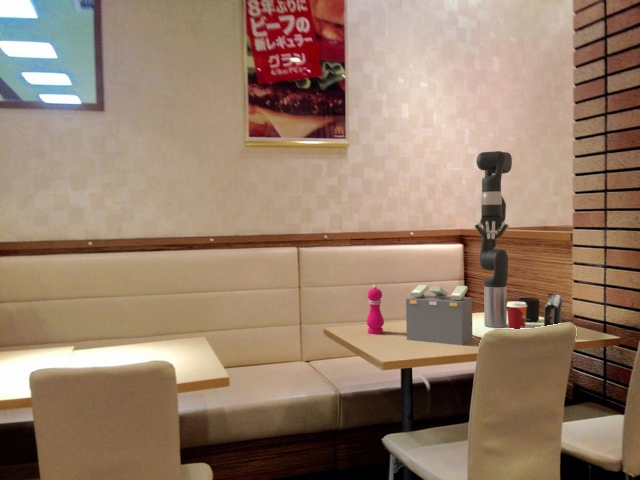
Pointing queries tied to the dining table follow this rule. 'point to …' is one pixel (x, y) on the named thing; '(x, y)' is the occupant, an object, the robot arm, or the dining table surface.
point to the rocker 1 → (419, 290)
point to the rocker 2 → (438, 291)
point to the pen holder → (531, 309)
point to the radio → (553, 310)
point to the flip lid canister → (516, 314)
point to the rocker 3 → (458, 292)
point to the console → (439, 319)
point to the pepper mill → (375, 312)
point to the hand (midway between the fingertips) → (491, 248)
